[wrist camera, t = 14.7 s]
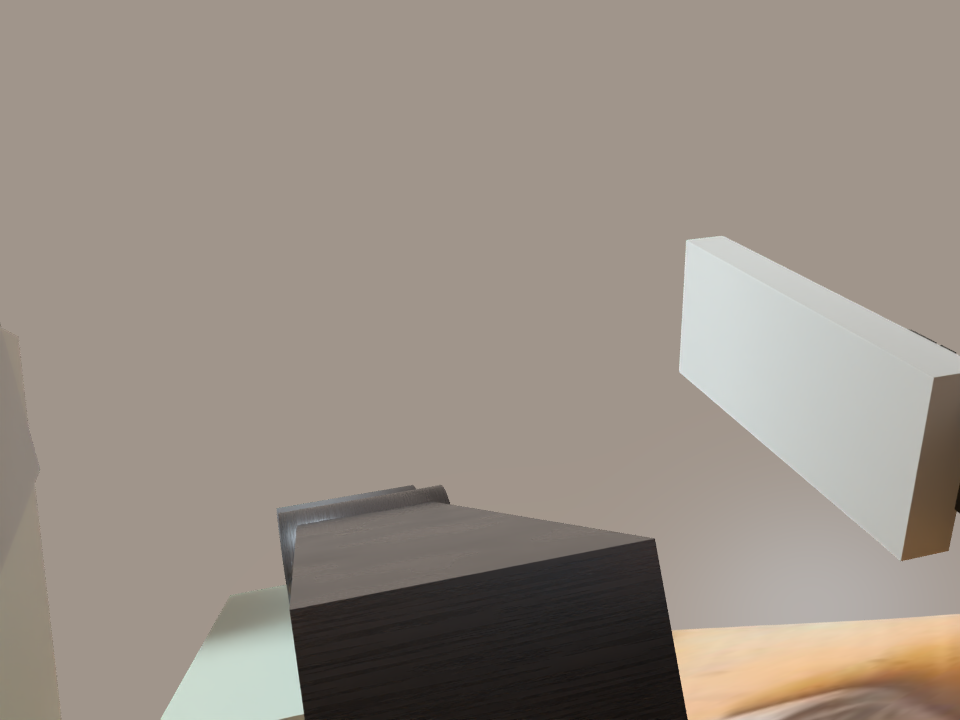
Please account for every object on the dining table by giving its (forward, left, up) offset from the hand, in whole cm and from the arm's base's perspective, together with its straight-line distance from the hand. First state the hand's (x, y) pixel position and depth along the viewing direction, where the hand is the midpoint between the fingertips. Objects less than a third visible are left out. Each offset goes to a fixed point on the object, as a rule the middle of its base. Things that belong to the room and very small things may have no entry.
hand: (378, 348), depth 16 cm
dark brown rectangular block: (-2, +3, -6) cm, 7 cm away
